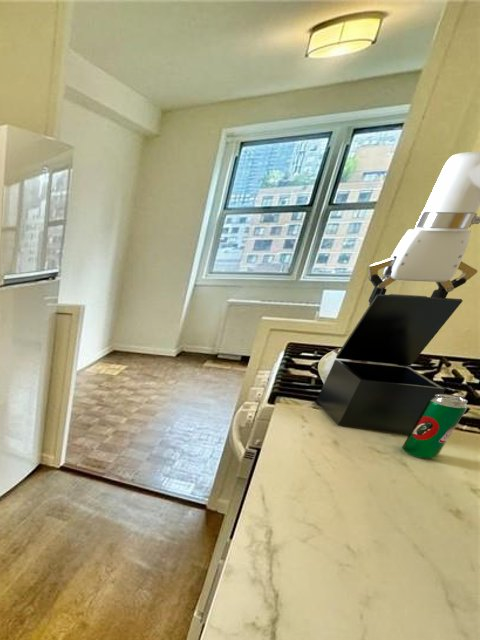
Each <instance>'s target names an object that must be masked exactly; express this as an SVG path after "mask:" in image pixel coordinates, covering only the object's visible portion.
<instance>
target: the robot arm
mask: <svg viewBox="0 0 480 640" xmlns="http://www.w3.org/2000/svg"><path fill="white" fill-rule="evenodd" d="M424 206H425V207H424V208H423V210H422V212H421V215H420V216H419V219H418V221H417V222H416V225H415V227H414V228H409V229H407V231H406V233H405V234H404V235H403V236H402V238H401V239H400V241H399V242H398V244H397V245H396V248H395V249H394V250H393V253H392V254H391V255H390V258H387V259H384V260H382V261H378V262H375V263H373V264H369V265H368V266H367V268H366V270H367V276H368V280H369V281H370V282H371V284H372V286H373V290H372V291H371V294H370V296H369V298H368V304H369V305H368V306H370V304H371V302H372V301H373V299H374V298H375V296H376V295H377V294H384V295H386V292H387V288H386V287H387V286H389V285H391V284H392V283H394V282H396V281H408V282H429V283H430V282H431V283H436V286H437V287H438V288H437V289H434V290H433V292H432V293H431V295H430V297H436V298H447V296H448V294H449V293H451V292H453V291H454V290H455V289H456V288H458V287H460V286H462V285H464V284H466V283H467V281H468V280H470V279H471V278H472V277H474V276H475V275H476V274H477V273H478V272H479V271H478V269H476V268H474V267H473V266H471V265H469V264H467V263H466V262H464V261H463V258H464V256H465V254H466V253H465V252H466V251H467V248H468V244H469V241H470V237H471V230H468V229H469V228H471V226H473V225H479V224H480V216H478V215H477V214H478V213H477V212H478V211H479V208H480V151H465V152H464V151H463V152H459V153H455V154H453V155H451V156H450V157H449V158H448V159H447V160H446V162H445V164H444V165H443V168H442V170H441V172H440V174H439V176H438V178H437V181H436V183H435V185H434V187H433V188H432V192H431V193H430V195H429V197H428V200H427V201H426V204H425V205H424ZM382 269H384V270H383V271H382V273H383V276H382V277H380V275H379V271H380V270H382ZM457 270H458V271H459V272H461V274H460V275H459V276H458V277H456V278H454V276H455V275H456V272H457ZM453 278H454V279H453Z"/></svg>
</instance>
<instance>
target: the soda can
mask: <svg viewBox="0 0 480 640" xmlns="http://www.w3.org/2000/svg"><path fill="white" fill-rule="evenodd" d="M468 402H469V401H468V400H467V399H465V398H463V397H460V396H457V395H451V394H446V393H445V394H444V393H443V394H436V395H435V396H434V397H433V398H431V399H429V401H428V403H427V404H426V406H425V408H424V409H423V411H422V413H421V415H420V416H419V418H418V420H417V422H416V423H415V425H414V427H413V429H412V430H411V432H410V434H409V435H407V437H406V439H405V440H404V443H403V444H402V446H401V448H402V451H403V452H404V453H405V454H407V455H410V456H412V457H415V458H417V459H425V460H431V459H434V458H437V457H438V456H439V454H440V453H441V451H442V449H443V448H444V447H445V444H446V443H447V442H448V440H449V438H450V436H452V434H453V432H454V430H455V428H457V425H458V424H459V422H460V420H461V419H462V418H463V416H464V414H465V412H466V411H467V409H468V404H467V403H468Z"/></svg>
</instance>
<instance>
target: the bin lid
mask: <svg viewBox="0 0 480 640" xmlns="http://www.w3.org/2000/svg"><path fill="white" fill-rule="evenodd" d="M463 301H464V300H463V299H462V298H453V297H446V298H436V297H431V296H427V295H417V294H399V293H398V294H397V293H389V294H385V295H384V294H377V295H376V296H375V298H374V299H373V301H372V302H371V304H370V305H368V307H367V309H366V310H365V311H364V313H363V315H362V316H361V318H360V319H359V321H358V322H357V324H356V325H355V327H354V328H353V330H352V331H351V333H349V336H348V337H347V339H346V340H345V342H344V344H343V345H342V347H340V348H341V350H340V351H339V353H338V354H337V356H336V358H337V359H346V360H357V361H367V362H377V363H387V364H397V366H407V367H410V366H412V365H413V364H414V362H416V360H417V359H418V357H419V356H420V355H421V353H422V352H423V351H424V350H425V349H426V347H428V345H429V344H430V342H431V341H432V340H433V339H434V338H435V336H436V335H437V334H438V332H439V331H440V330H441V329H442V328H443V326H444V325H445V324H446V323H447V321H448V320H449V319H450V317H452V315H453V314H454V313H455V311H456V310H457V309H458V308H459V307H460V305H461V304H462V303H463Z"/></svg>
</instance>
